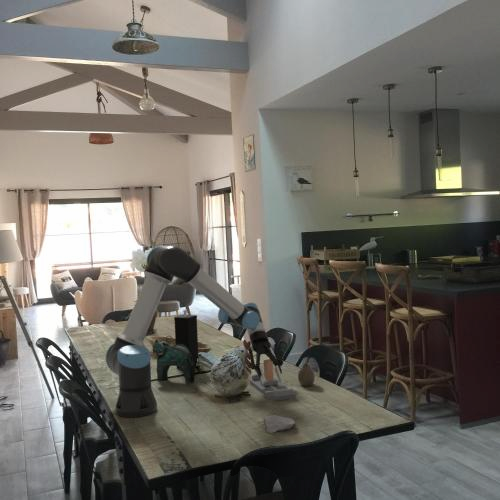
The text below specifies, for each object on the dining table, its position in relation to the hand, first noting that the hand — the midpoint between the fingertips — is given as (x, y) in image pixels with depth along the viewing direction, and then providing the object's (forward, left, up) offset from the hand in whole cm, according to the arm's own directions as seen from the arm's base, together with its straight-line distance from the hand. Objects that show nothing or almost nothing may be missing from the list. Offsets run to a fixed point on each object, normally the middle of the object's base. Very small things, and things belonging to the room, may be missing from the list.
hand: (272, 381), depth 223 cm
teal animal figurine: (+13, +45, -4) cm, 47 cm away
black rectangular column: (+35, +45, -4) cm, 57 cm away
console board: (0, +1, -4) cm, 4 cm away
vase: (+8, -13, -4) cm, 16 cm away
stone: (-38, -6, -4) cm, 39 cm away
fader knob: (+3, +2, -2) cm, 4 cm away
